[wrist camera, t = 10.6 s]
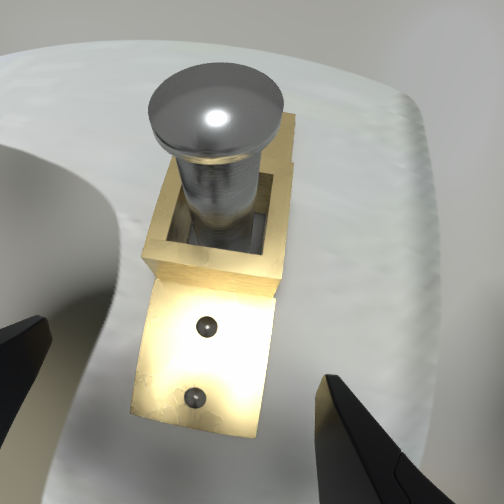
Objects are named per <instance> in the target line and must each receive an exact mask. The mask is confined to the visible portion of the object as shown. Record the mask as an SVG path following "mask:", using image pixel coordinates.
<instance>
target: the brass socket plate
mask: <svg viewBox="0 0 504 504" xmlns="http://www.w3.org/2000/svg"><path fill="white" fill-rule="evenodd" d="M294 125H295V114H291V113H285V112H283V113H282V118H281V124H280V128H279V131H278V133H277V135H276V136H275V138H274V139H273V140H272V142H271V143H270V144H269V145H268V146H266V147H265V148H264V149H263V150H262V152H261V161H260V169H259V177H258V186H257V194H256V203H255V211H254V213H261V214H266V217H265V224H264V231H263V238H262V245H261V252H260V255H255V254H249V253H242V252H236V251H229V250H223V249H216V248H210V247H203V246H197V245H190V244H187V240H188V236H189V232H190V228H191V224H192V220H191V216H190V212H189V208H188V205H187V201H186V197H185V193H184V189H183V186H182V182H181V178H180V174H179V170H178V166H177V162H176V158H175V156H172V159H171V162H170V165H169V168H168V171H167V173H166V176H165V179H164V182H163V185H162V188H161V191H160V194H159V198H158V201H157V204H156V207H155V210H154V214H153V217H152V220H151V223H150V227H149V230H148V234H147V237H146V241H145V244H144V248H143V251H142V255H141V258H142V259H143V260H144V262H145V263H146V264H147V265H148V267H149V268H150V269H151V271H152V272H153V273H154V274H155V276H156V277H157V278H158V279H155V281H154V286H153V290H152V294H151V299H150V303H149V308H148V313H147V317H146V322H145V327H144V332H143V337H142V342H141V348H140V353H139V359H138V364H137V370H136V376H135V382H134V388H133V395H132V402H131V409H130V414H133V415H137V416H141V417H144V418H148V419H152V420H156V421H160V422H164V423H168V424H173V425H177V426H182V427H187V428H191V429H197V430H202V431H207V432H213V433H219V434H225V435H232V436H239V437H247V438H256V432H257V426H258V420H259V413H260V407H261V400H262V394H263V387H264V380H265V373H266V366H267V359H268V352H269V345H270V338H271V331H272V323H273V316H274V308H275V300H276V299H275V298H272V297H273V295H274V293H275V292H276V290H277V288H278V286H279V284H280V282H281V280H282V271H283V263H284V254H285V245H286V236H287V227H288V217H289V208H290V198H291V188H292V177H293V167H294V163H292V162H291V158H292V147H293V136H294Z"/></svg>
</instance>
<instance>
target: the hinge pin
mask: <svg viewBox="0 0 504 504" xmlns="http://www.w3.org/2000/svg"><path fill="white" fill-rule="evenodd" d="M283 107H284V100H283V96H282V93H281V91H280V89H279V87H278V86H277V85H276V83H275V82H274V81H273V80H272V79H270V78H269V77H268V76H267V75H265V74H264V73H262V72H260V71H258V70H256V69H253V68H251V67H248V66H244V65H240V64H234V63H207V64H201V65H196V66H193V67H189V68H187V69H184V70H182V71H180V72H178V73H176V74H174V75H172V76H171V77H169V78H168V79H166V80H165V81H164V82H163V83H162V84H161V85H160V86H159V87H158V88H157V89H156V90H155V92H154V93H153V95H152V97H151V99H150V102H149V106H148V115H149V120H150V123H151V127H152V130H153V133H154V136H155V138H156V140H157V142H158V143H159V145H160V146H161V147H162V148H163V149H164V150H166V151H167V152H168V153H169V154H171V155H173V156H175V158H176V162H177V166H178V170H179V174H180V178H181V182H182V186H183V189H184V193H185V197H186V201H187V205H188V208H189V212H190V216H191V220H192V223H193V227H194V230H195V234H196V238H197V241H198V245H199V246H203V247H210V248H216V249H223V250H229V251H236V252H242V253H248V252H249V250H250V245H251V236H252V228H253V219H254V211H255V203H256V194H257V186H258V177H259V169H260V161H261V152H262V150H263V149H264V148H265V147H266V146H268V145H269V144H270V143H271V142H272V140H273V139H274V138H275V136H276V135H277V133H278V131H279V128H280V124H281V118H282V113H283Z"/></svg>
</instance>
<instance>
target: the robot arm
mask: <svg viewBox="0 0 504 504" xmlns="http://www.w3.org/2000/svg"><path fill="white" fill-rule="evenodd" d="M51 344H52V334H51V330H50V326H49V322H48V320H47V318H45V317H42V316H40V315H35V316H33V317H30V318H28V319H25V320H22V321H20V322H17V323H15V324H12V325H10V326H7V327H5V328H2V329H0V449H1V446H2V444H3V442H4V440H5V437H6V435H7V433H8V431H9V429H10V427H11V425H12V423H13V421H14V419H15V417H16V414H17V413H18V411H19V409H20V407H21V405H22V403H23V401H24V399H25V398H26V395H27V394H28V392H29V390H30V388H31V386H32V384H33V383H34V381H35V379H36V377H37V375H38V373H39V370H40V368H41V366H42V364H43V361H44V359H45V357H46V355H47V352H48V350H49V348H50V346H51ZM315 454H316V465H317V476H318V488H319V501H320V504H455V503H454V502H453V501H452V500H451V499H449V498H448V497H447V496H446V495H445V494H444V493H443V492H442V491H441V490H439V489H438V488H437V487H436V486H435V485H434V484H433V483H432V482H431V481H430V480H429V479H428V478H426V477H425V476H424V475H423V474H422V473H421V472H420V471H419V470H418V468H417V467H416V466H415V465H414V464H413V463H412V462H411V461H410V460H409V459H408V457H407V456H406V455H405V454H404V453H403V452H401V449H400V448H399V447H398V446H397V445H396V443H395V442H394V441H393V440H392V439H391V438H390V436H389V435H388V434H387V433H386V432H385V430H384V429H383V428H382V427H381V426H380V425H379V423H378V422H377V421H376V420H375V419H374V417H373V416H372V415H371V414H370V413H369V412H368V410H367V409H366V408H365V407H364V406H363V404H362V403H361V402H360V401H359V400H358V398H357V397H356V396H355V395H354V394H353V392H352V391H351V390H350V389H349V388H348V386H347V385H346V384H345V383H344V382H343V380H342V379H341V378H340V377H339V376H338V375H332V374H325V375H324V376H323V378H322V380H321V383H320V385H319V388H318V390H317V393H316V398H315Z"/></svg>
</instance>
